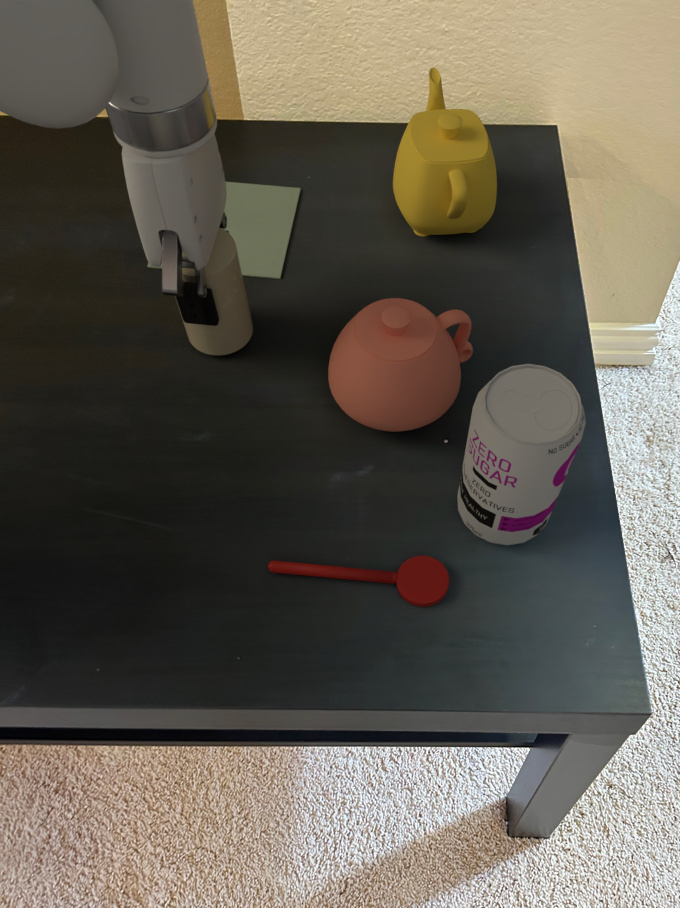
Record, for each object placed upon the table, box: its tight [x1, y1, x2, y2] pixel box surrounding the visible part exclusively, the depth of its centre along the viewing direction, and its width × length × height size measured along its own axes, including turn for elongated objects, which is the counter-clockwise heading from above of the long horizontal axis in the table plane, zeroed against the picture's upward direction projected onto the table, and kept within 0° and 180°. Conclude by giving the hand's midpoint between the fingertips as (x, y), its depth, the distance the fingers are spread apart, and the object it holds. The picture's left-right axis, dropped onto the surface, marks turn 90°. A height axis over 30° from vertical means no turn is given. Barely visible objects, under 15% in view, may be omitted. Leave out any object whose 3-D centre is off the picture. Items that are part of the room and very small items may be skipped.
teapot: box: [392, 67, 498, 237], centre depth 79 cm, size 18×11×11 cm, turn 8°
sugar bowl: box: [327, 297, 474, 433], centre depth 68 cm, size 12×14×10 cm
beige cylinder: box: [174, 227, 254, 356], centre depth 70 cm, size 6×6×10 cm
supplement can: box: [456, 363, 587, 546], centre depth 60 cm, size 8×8×15 cm
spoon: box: [267, 555, 450, 608], centre depth 63 cm, size 15×4×1 cm, turn 85°
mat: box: [146, 181, 302, 280], centre depth 82 cm, size 14×14×1 cm
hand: (210, 291), depth 70 cm, fingers closed on beige cylinder, 6 cm apart
